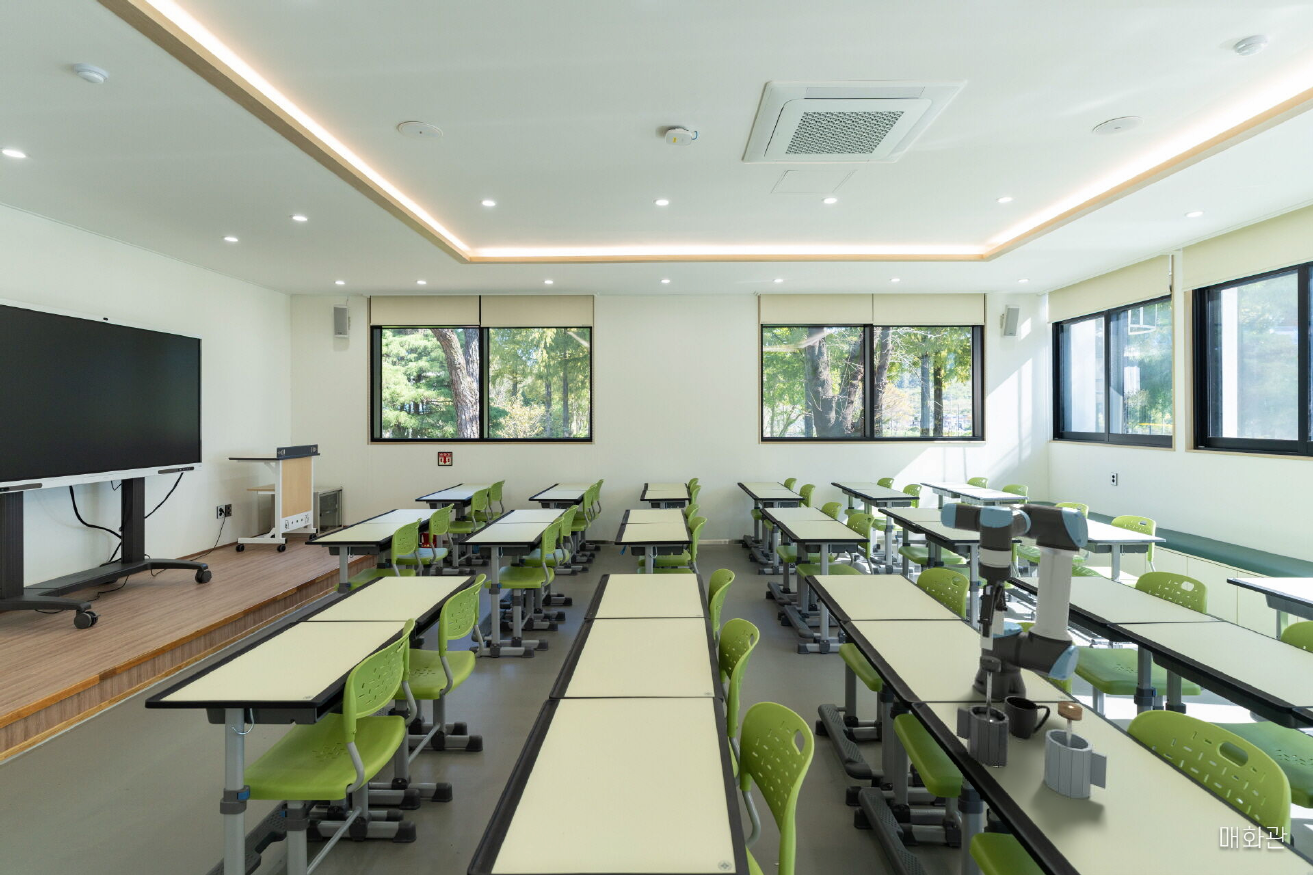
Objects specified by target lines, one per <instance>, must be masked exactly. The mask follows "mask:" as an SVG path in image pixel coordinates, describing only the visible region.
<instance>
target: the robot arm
mask: <svg viewBox="0 0 1313 875" xmlns="http://www.w3.org/2000/svg"><path fill="white" fill-rule="evenodd" d="M940 522H941V524H942V525H943V527H945V528H950V529H953V530H961V531H967V532H974V533H979V544H978V545H979V548H978V549H977V550H976V552H977V553H979V554H978V561H980V562H979V563H978V576H979V577H980V578H981V579H985V580H986V584H984V585H983V586H982V598H981V603H980V604H981V605H980V610H979V619H977V621H976V623H977V624H980V639H979V640H980V641H979V642H980V643H979V647H980V656H991V657H995V658H997V659H999V660H1000V661H1001V671H1000V672H992V683H991V699H992V698H993V699H995V700H998V701H999V700H1000V701H1004V702H1005V698H1006V697H1008V696H1017V697H1022V698H1025V699H1027V688H1026V685H1025V681H1024V678H1023V676H1022V669H1023V670H1026V671H1029V672H1032V673H1035V674H1039V675H1042V676H1045V677H1048V678H1049V679H1055V680H1059V681H1067V680H1069V679H1070V678H1072V677H1073V676H1072V675H1073V674H1074V672H1075V670H1076V668H1077V665H1078V661H1079V656H1080V652H1079V651H1080V648H1079V647H1078V646H1077V645H1076V644H1073V637H1072V635H1071V634H1069V632H1068V623H1069V612H1070V599H1071V588H1072V576H1073V563H1074V562H1073V561H1074V556H1075V555H1077V554H1079V553H1080V551H1081V548H1085V547H1086V545H1087V544H1088V539H1089V528H1088V522H1087V519H1086V516H1085V514H1084V513H1083V512H1082V511H1081V510H1079V509H1075V508H1070V507H1065V506H1053V505H1052V506H1051V505H1045V504H1035V503H1028V502H1027V503H1023V502H1022V503H1007V504H1006V503H1005V504H1004V503H1002V504H997V505H977V504H976V505H974V504H973V505H972V504H971V505H970V504H962V503H961V504H960V503H956V502H955V503H952V502H947V503H945V504H944V505H943V506H942V508H941V511H940ZM1018 537H1021V538H1024V539H1030V540H1035V547H1037V549H1038V550H1039V551H1040V557H1039V570H1038V582H1037V583H1038V584H1037V593H1036V594H1037V595H1036V606H1035V620H1034V625H1033V626H1031V627H1029V628H1028V632H1026V631H1024V629H1023V627H1022V625H1021V624H1019V623H1016V622H1011V621H1006V620H1005V612H1008V611H1009V610H1008V608H1009V607H1007V598H1006V587H1005V585H1006V584H1005V582H1008V581H1010V580H1011V579H1012V578H1011V575H1012V574H1011V573H1012V567H1011V565H1012V554H1013V553H1012V551H1013V548H1012V547H1013V546H1012V545H1013V539H1014V538H1018ZM978 667H979V666H978ZM987 675H988V671H985V670H983V669H981V668H980V667H979V668H978V670H977V672H976V674H975V677H974V682H973V683H974V684H973V685H974V688H975V689H976V690H977V691H978V692H980V693H981V694H983V695H985V696H987Z"/></svg>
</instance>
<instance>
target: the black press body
mask: <svg viewBox="0 0 1313 875" xmlns="http://www.w3.org/2000/svg"><path fill="white" fill-rule="evenodd" d="M986 706H987V705H981V704H974V705H970V706H969V707H968V709H966V708H964V707H960V706H958V707H957V709H956V710H957V711H956V737H958V738H961V739H964V740H966V741H967V743H966V752H968V753H967V755H968V756H969V755H970V756H971V757H972V758H974V759H975V760H976V761H978V762H980V763H979V764H981V765H983V764H985V765H984V766H986V765H987V766H986V767H990V766H998V767H997V768H1000V767H999V766H1003V767H1006V766H1007V765H1008V764H1007V763H1008V762H1009V761H1008V759H1009V737H1010V736H1009V734H1010V733H1009V718H1008V716H1007V715H1006V714H1005V711H1004V712H1003V711H1002V710H1000V709H998V708H995V707H992V706H991V714H990V715H992V716H995V717H997V718H998V719H1000V720H1001V721H1000V722H994V721H988V720H985V719H982V718H979V717H978V716H976V714H980V713H983V714H986ZM970 756H969V757H970ZM971 757H970V758H971ZM972 758H971V759H972ZM974 759H973V760H974ZM975 760H974V761H975ZM976 761H975V762H976ZM978 762H977V763H978ZM1005 765H1006V766H1005Z"/></svg>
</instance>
